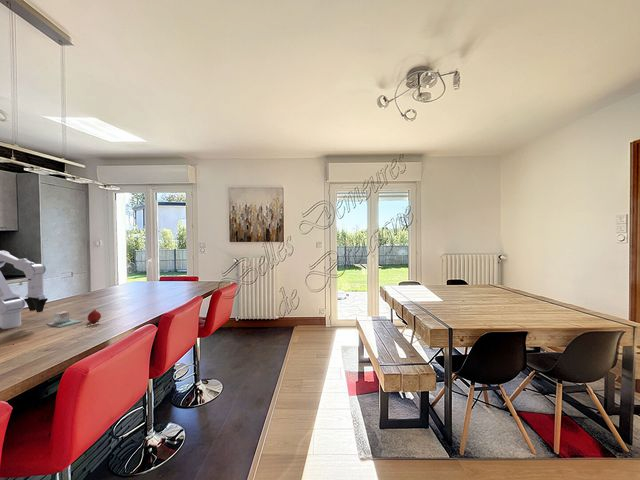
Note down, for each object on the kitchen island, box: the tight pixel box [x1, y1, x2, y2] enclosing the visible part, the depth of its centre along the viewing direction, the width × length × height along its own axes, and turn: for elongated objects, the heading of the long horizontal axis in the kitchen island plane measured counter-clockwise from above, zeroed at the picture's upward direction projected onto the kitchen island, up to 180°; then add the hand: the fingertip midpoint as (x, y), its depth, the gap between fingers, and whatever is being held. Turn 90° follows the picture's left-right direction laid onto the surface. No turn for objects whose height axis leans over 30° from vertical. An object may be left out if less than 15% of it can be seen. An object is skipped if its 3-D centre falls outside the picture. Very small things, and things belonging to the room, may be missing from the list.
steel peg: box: [54, 310, 70, 324], centre depth 153 cm, size 4×4×7 cm
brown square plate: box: [19, 324, 51, 333], centre depth 144 cm, size 9×9×1 cm
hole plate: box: [45, 318, 83, 328], centre depth 152 cm, size 14×10×2 cm
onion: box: [87, 308, 102, 324], centre depth 154 cm, size 6×6×8 cm
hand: (36, 311), depth 146 cm, fingers open, 7 cm apart
